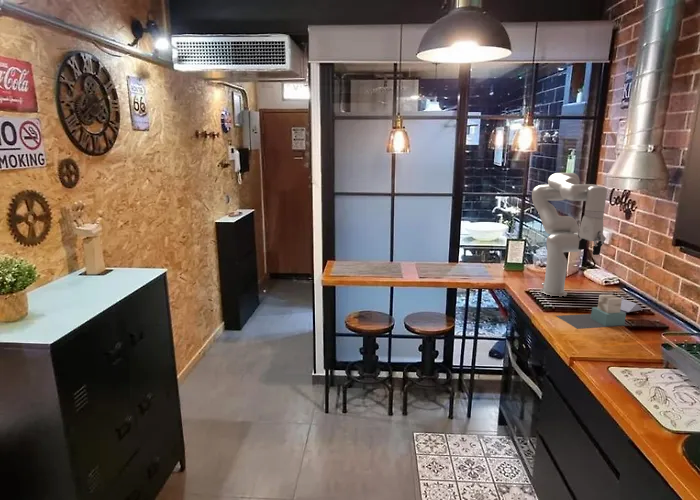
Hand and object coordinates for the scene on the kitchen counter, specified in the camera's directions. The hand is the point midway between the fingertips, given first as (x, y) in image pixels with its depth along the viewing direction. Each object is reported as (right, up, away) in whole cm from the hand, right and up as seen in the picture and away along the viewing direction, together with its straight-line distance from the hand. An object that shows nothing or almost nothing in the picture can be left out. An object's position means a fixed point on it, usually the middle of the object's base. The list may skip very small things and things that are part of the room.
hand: (588, 252), depth 206 cm
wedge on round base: (+17, -28, +3) cm, 33 cm away
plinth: (+3, -30, -10) cm, 32 cm away
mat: (-4, -30, -9) cm, 32 cm away
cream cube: (+3, -25, -11) cm, 27 cm away
